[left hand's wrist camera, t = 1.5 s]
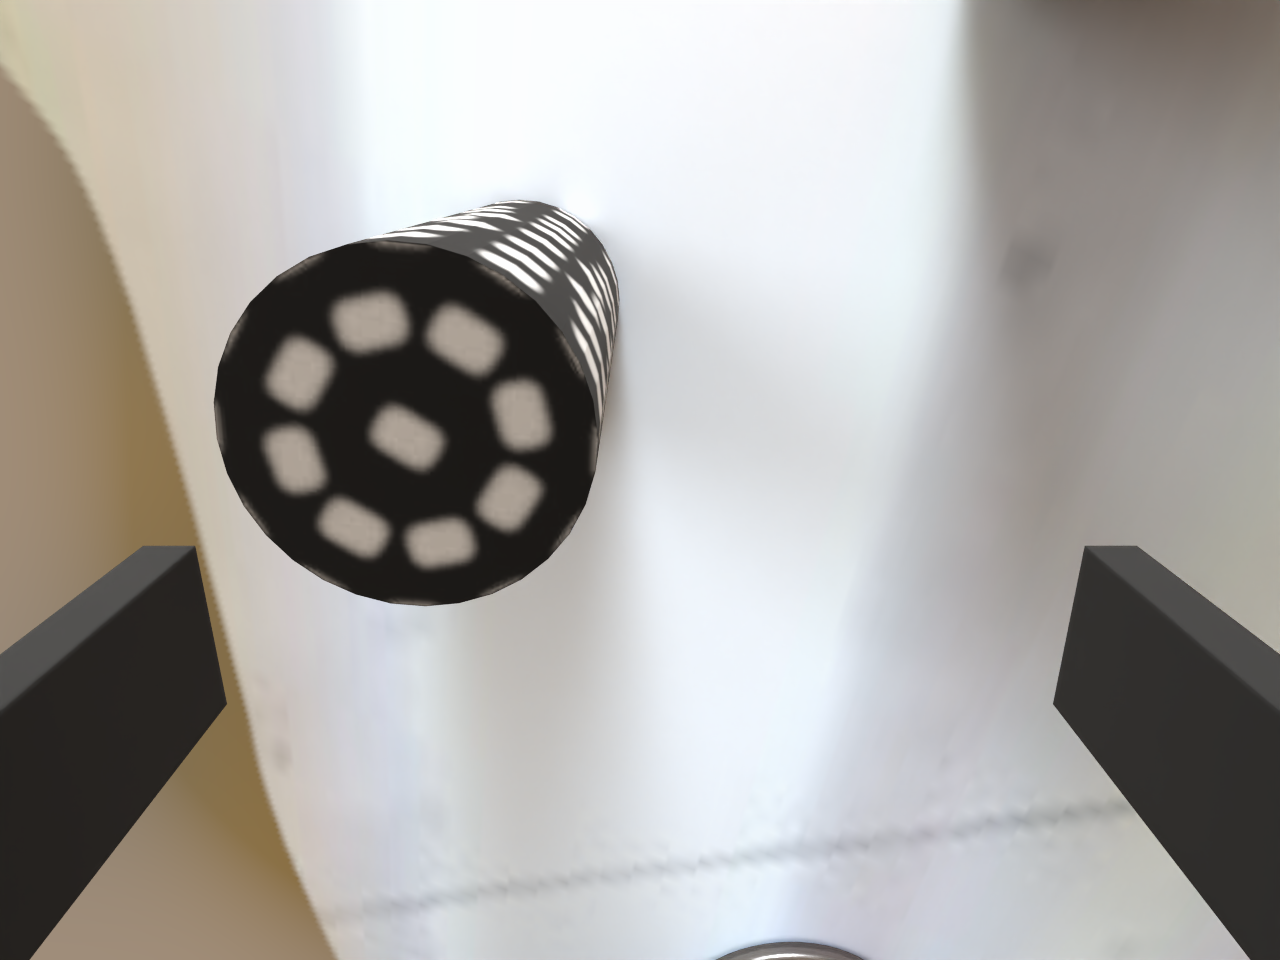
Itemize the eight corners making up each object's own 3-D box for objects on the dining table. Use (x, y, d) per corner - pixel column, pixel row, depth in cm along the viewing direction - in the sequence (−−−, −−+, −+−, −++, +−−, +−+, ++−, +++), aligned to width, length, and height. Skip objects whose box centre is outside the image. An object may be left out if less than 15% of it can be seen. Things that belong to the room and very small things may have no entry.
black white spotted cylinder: (656, 271, 37) (672, 385, 18) (556, 424, 39) (478, 664, 20) (490, 159, 35) (317, 154, 16) (396, 325, 38) (154, 488, 19)
